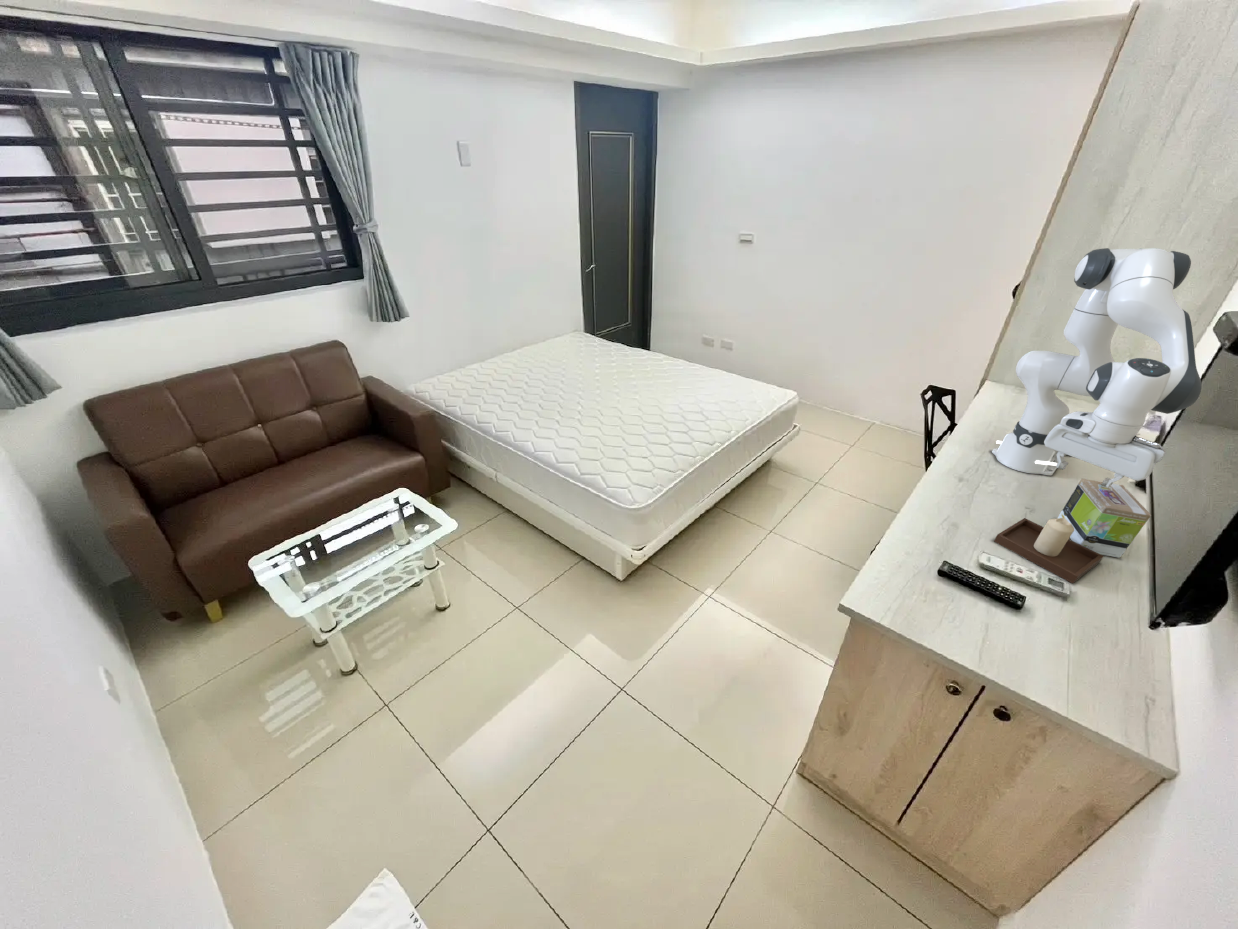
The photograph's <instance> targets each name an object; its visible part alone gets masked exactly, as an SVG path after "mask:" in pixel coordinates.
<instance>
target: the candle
mask: <svg viewBox="0 0 1238 929" xmlns="http://www.w3.org/2000/svg"><path fill="white" fill-rule="evenodd" d="M1043 527H1044V528H1043V530H1042V531H1041V533H1040V535H1039V537H1038V538H1037V540H1036V542H1035V543H1034V548H1035V549H1036V550H1037V551H1038V552H1040V553H1042V554H1044V555H1047V556H1057V555H1059V553H1060V552H1061V550H1062V549H1063V547H1064V545H1065V544H1066V542H1067V541H1068V539H1069V540H1070V536H1071V535H1072V533H1073V531H1074V528H1073V526H1072V524H1071V523H1069V522H1068V521H1067V520H1066V519H1065V518H1058V517H1056V518H1050V519H1048V520H1047V522H1046V523H1045V525H1044V526H1043Z"/></svg>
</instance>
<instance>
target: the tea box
mask: <svg viewBox="0 0 1238 929" xmlns="http://www.w3.org/2000/svg"><path fill="white" fill-rule="evenodd" d="M1101 483H1103V481H1099V480H1092V479H1086V478H1081V479H1080V481H1079V482H1078V483H1077V485H1076V486H1075V488H1074V490H1073V492H1072V493H1071V495H1070V497H1069V498H1068V500H1067V502H1066V503H1065V504H1064V507H1063V509H1062V510H1061V511H1060V513H1059V515H1058V517H1057V518H1065V519H1066V520H1067V521H1068V522H1069V523H1071V524H1072V526H1073V528H1074V531H1073V533H1072V535H1071V536H1070V538H1069V540H1071V541H1074V542H1076V543H1078V544H1080V545H1082V546H1084V547H1086V548H1088V549H1090V550H1092V551H1094V552H1096V553H1098V554H1101V555H1103V556H1108V557H1112V558H1113V557H1114V558H1119V559H1120V558H1121V557H1122V556H1123V555H1124V553H1125V552H1126V551H1127V550H1128V547H1129V546H1130V545H1131V544H1132V543H1133V541H1134V540H1135V538H1136V537H1137V535H1138V534H1139V533H1140V532H1141V530H1142V529H1143V527H1144V526H1145V525H1146V524H1147V522H1148V521H1149V520H1150V518H1151V516H1152V515H1151V513H1150V512H1149V511H1148V510H1147V508H1145V507H1144V505H1142V504H1141V503H1140V501H1139V500H1138V499H1137V498H1136V497H1135V496H1134V495H1133V494H1132V493H1131V492H1130V491H1129V489H1127V488H1126V487H1125V485H1123V484H1119V483H1113V484H1112V485H1111V486H1110V487H1109V488H1107V487H1104V486H1102V485H1101Z"/></svg>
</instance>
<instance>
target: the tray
mask: <svg viewBox="0 0 1238 929" xmlns="http://www.w3.org/2000/svg"><path fill="white" fill-rule="evenodd" d="M1043 528H1044V526H1042V525H1040V524H1038V523H1037V522H1034V521H1033V520H1030V519H1028V518H1026V517H1023V518H1022V519H1020V520H1019V521H1017V522H1015V523H1013V524H1012V525H1011V526H1009V527H1007V528H1006V529H1004V530H1002V531H1000V532H999V533H997V534H996V536H995V538H994V540H993V542H994V543H995V544H997V545H1000V546H1001V547H1004V548H1005V549H1007V550H1008V551H1011V552H1013V553H1015V554H1017V555H1018V556H1020V557H1022V558H1024V559H1026V560H1028V561H1030V562H1031V563H1033V564H1035V565H1037V566H1039V567H1041V568H1042V569H1044V570H1046V571H1048V572H1050V573H1052V574H1053V575H1056V576H1057V577H1059V578H1061V579H1063V580H1065V581H1067V582H1069V583H1071V584H1074V583H1076V582H1077V581H1078V580H1079V579H1081V578H1082V577H1083V576H1084V575H1086V574H1087V573H1088V572H1090V571H1091V570H1092V569H1093V568H1095V567H1096V566H1097V565H1098V564H1100V562H1101V561H1102V559H1103V558H1104V555H1102V554H1098V553H1096V552H1094V551H1092V550H1090V549H1088V548H1086V547H1084V546H1082V545H1080V544H1078V543H1076V542H1074V541H1072V540H1071V539H1070V538H1069V539H1068V541H1067V542H1066V544H1065V545H1064V547H1063V549H1062V550H1061V552H1060V553H1059V555H1057V556H1047V555H1044V554H1042V553H1040V552H1038V551H1037V550H1036V549H1035V548H1034V543H1035V542H1036V540H1037V538H1038V537H1039V535H1040V533H1041V531H1042V530H1043Z"/></svg>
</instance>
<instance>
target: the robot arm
mask: <svg viewBox="0 0 1238 929" xmlns="http://www.w3.org/2000/svg"><path fill="white" fill-rule="evenodd" d="M1191 265H1192V260H1191V257H1190V255H1189V254H1187V253H1185V252H1181V251H1176V250H1171V251H1168V250H1166V249H1164V248H1158V247H1150V248H1149V247H1148V248H1113V249H1111V248H1109V247H1105V248H1097V249H1093V250H1090V251H1089V252H1088V253H1086V254H1084V256H1083V258H1082V259H1081V260H1080V261H1079V262H1078V263H1077V266H1076V267H1075V269H1074V277H1073V278H1074V279H1073V282H1074V283H1075V285H1076V287H1079V288H1081V289H1084V291H1083V292H1082V294H1081V295H1080V297H1079V299H1078V300H1077V302H1076V304H1075V306H1074V308H1073V310H1072V312H1071V314H1070V316H1069V318H1068V320H1067V323H1066V324H1065V327H1064V328H1063V337H1064V338H1065V340H1066V341H1067V342H1068V343H1069V344H1071V345H1073V346H1074V347H1076V348H1077V350H1078V353H1079V355H1072V354H1066V353H1061V352H1057V351H1052V350H1030V351H1029V352H1026V353H1025V354H1024V355H1022V356H1021V357H1020V358H1019V360H1018V361H1017V363H1016V366H1015V374H1016V376H1017V378H1018V379H1019V380H1020V381H1021V384H1023V386H1024V388H1025V391H1026V395H1027V399H1026V404H1025V407H1024V410H1023V412H1022V415H1021V417H1020V420H1018V421H1017V423H1016V424H1015V425H1014V427H1013V430H1012V432H1009V433H1007V434H1005V435H1004V437H1003V440H996V441H995V442H996V443H995V444H999V447H996V448H993V449H992V450H991V453H992V454H993V455H994V456H995V457H996V460H997V461H998V462H999V463H1000V464H1001V465H1003V466H1006V467H1007V468H1009V469H1012V470H1015V471H1018V472H1021V473H1027V474H1034V475H1035V474H1036V475H1044V476H1053V474H1055V472H1056V471H1057V469H1059V470H1065V469H1066V468H1067V466H1068V464H1069V462H1068V461H1066V459H1065V456H1069V457H1073V458H1074V459H1077V460H1079V461H1080V460H1081V461H1083V462H1085V463H1088V464H1091V465H1093V466H1096V467H1099V468H1102V469H1105V470H1107V471H1109V472H1112V473H1114V475H1113V478H1109V477H1106V478H1104V479H1103V480H1102V482H1103V483H1101V485H1102V486H1104V487H1107V488H1109V487H1110V486H1111V485H1112V484H1114V483H1115V482H1117V481H1120V480H1121V479H1123V478H1125V477H1126V478H1128V479H1131V480H1133V481H1136V482H1140V481H1143V480H1146V479H1147V478H1149V477H1150V475H1151V474H1152V472H1153V471H1154V469H1155V467H1156V464H1158V463H1160V462H1161V461H1162V460H1163V458H1165V456H1166V454H1167V452H1166V449H1165V447H1163V446H1162V444H1160V443H1158V442H1155V441H1151V440H1148V439H1146V438H1142V437H1140V436H1137V435H1138V434H1139V432H1140V430H1141V429H1142V428H1143V426H1144V424H1145V422H1146V417H1147V415H1148V413H1149V412H1150V411H1153V412H1157V413H1161V414H1167V415H1168V414H1173V413H1176V412H1180V411H1183V410H1185V409H1187V408H1189V407H1191V406H1193V405H1194V404H1195V403H1196V402H1197V401H1198V399H1199V397H1200V396H1201V392H1202V384H1203V383H1202V379H1201V377H1200V374H1199V372H1198V369H1197V361H1196V352H1195V343H1194V342H1195V341H1194V332H1193V326H1192V320H1191V316H1190V314H1189V312H1188V311H1186V310H1185V309H1183V308H1181V306H1180V305H1179V303H1178V302H1177V300H1176V298H1175V296H1174V290H1175V289H1177V288H1178V287H1180V285H1181V284H1182V283H1183V282H1184V280H1185V279H1186V278H1187V276H1188V274H1189V272H1190V270H1191V267H1192V266H1191ZM1118 326H1121V327H1124V328H1126V329H1128V330H1132V331H1135V332H1137V333H1140V334H1143V335H1145V336H1147V337H1149V338H1151V339H1152V340H1154V341H1155V342H1157V344H1158V345H1159V346H1160V350H1161V351H1160V352H1161V361H1159V360H1156V359H1152V358H1146V357H1136V358H1135V357H1134V358H1129V359H1127V360H1125V362H1123V361H1122V362H1121V361H1115V359H1114V358H1113V355H1112V351H1111V345H1112V340H1113V337H1114V334H1115V332H1116V330H1117V328H1118ZM1056 391H1060V392H1064V393H1068V394H1069V393H1070V394H1074V395H1078V396H1082V397H1091V398H1092V399H1093V400H1094V401H1096V402H1099V404H1098V406H1097V407H1096V408H1095V409H1094V410H1093V412H1092V411H1079V410H1077V411H1073V412H1070V408H1069V406H1068V405H1067V404H1066V403H1065V401H1063V400H1062V399H1061V398H1059V397H1058V395H1056Z"/></svg>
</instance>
